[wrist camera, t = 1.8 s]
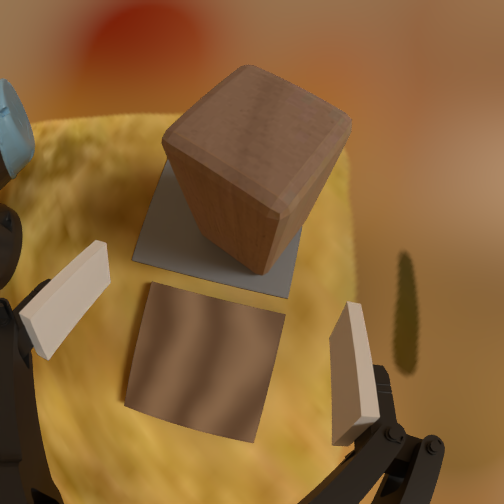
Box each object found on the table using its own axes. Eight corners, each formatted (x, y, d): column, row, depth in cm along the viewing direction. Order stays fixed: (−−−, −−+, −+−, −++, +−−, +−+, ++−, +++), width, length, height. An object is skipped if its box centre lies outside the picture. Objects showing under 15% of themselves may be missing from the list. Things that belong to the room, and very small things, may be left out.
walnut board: (128, 403, 31) (124, 405, 30) (155, 283, 35) (152, 281, 34) (253, 438, 30) (253, 443, 29) (284, 314, 34) (285, 314, 33)
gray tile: (132, 260, 36) (131, 260, 35) (179, 132, 41) (179, 131, 40) (287, 298, 35) (287, 298, 35) (313, 158, 40) (314, 157, 40)
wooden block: (197, 232, 36) (151, 135, 17) (245, 175, 39) (245, 56, 19) (262, 280, 35) (282, 220, 16) (308, 217, 37) (360, 116, 18)
